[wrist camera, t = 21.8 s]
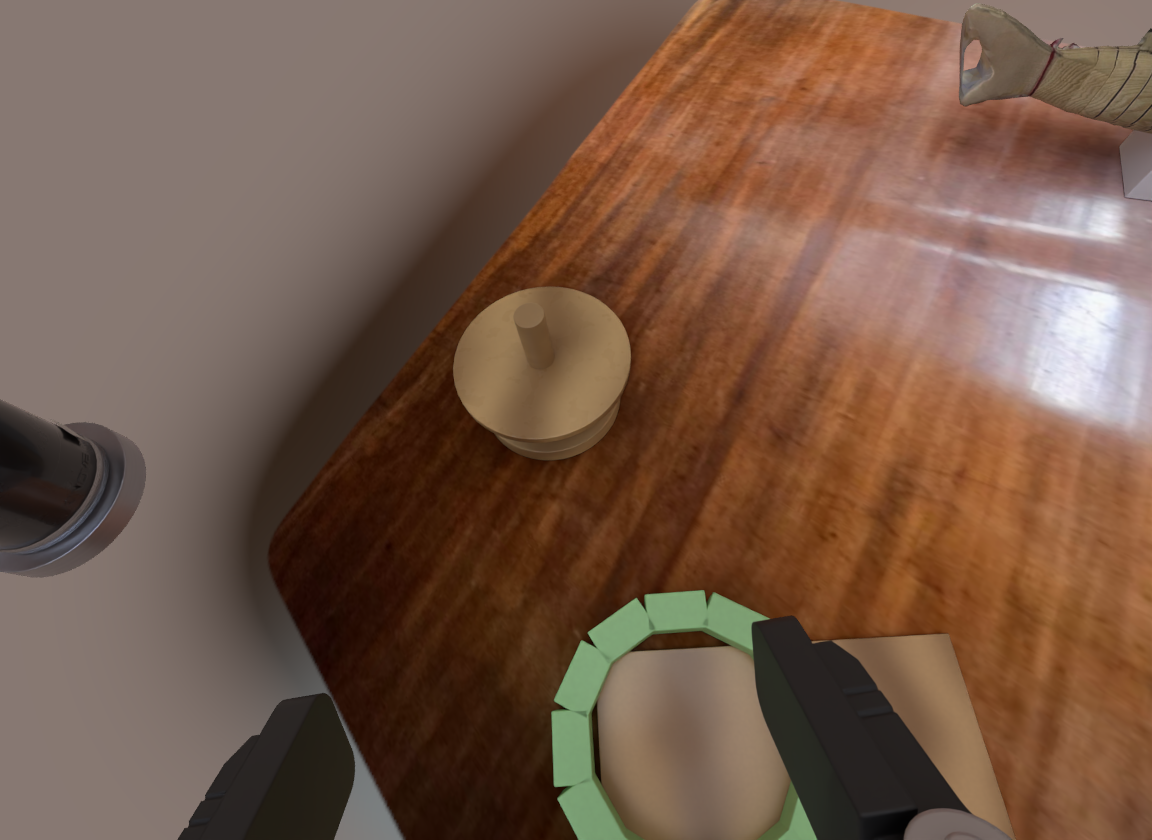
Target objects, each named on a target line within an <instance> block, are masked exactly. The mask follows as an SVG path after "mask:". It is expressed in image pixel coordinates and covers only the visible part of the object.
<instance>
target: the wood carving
mask: <svg viewBox="0 0 1152 840" xmlns="http://www.w3.org/2000/svg"><path fill="white" fill-rule="evenodd" d="M973 40H980V44H981V46H982V53H981V57H980V60H979V62H978V64H977V67H976V68H973V69H969V70H966V71H963V67H964V52H965V49H966V47H967V46H968V45H969V44H970V43H971V42H972V41H973ZM1062 40H1063V38H1061V39H1058V40H1056V41H1054V42H1053V43H1052V44H1050V45H1048V44H1046V43H1045V42H1043V41H1042V40H1041V39H1039V38H1038V37H1037V36H1036V35H1034V33H1033V32H1031V31H1030V30H1029V29H1028V28H1027V27H1026V26H1024V25H1023V24H1022V23H1020V22H1019V21H1018V20H1016V19H1015V18H1013V17H1012V16H1010V15H1008V14H1007V13H1006V12H1004V11H1003V10H1001V9H996V8H994V7H992V6H988V5H983V4H979V3H978V4H974V5H973V6H972V7H970V8H969V10H968V11H967V12H966V13H965V17H964V20H963V23H962V30H961V40H960V87H959V100H960V104H961V105H963V106H968V105H971V104H976V103H980V102H984V101H986V100H1000V99H1009V98H1017V97H1028V96H1030V97H1033V98H1035V99H1039V100H1041V101H1043V102H1045V103H1048V104H1050V105H1053V106H1055V107H1057V108H1060V109H1062V110H1064V111H1066V112H1070V113H1075V114H1079V115H1081V116H1084V117H1087V118H1091V119H1094V120H1099V121H1104V122H1108V123H1110V124H1113V125H1117V126H1122V127H1124V128H1128V129H1133V132H1132V133H1131V134H1130V135H1129V136H1128V137H1127V138H1126V139H1125V141H1124V142H1123V143H1122V144H1121V145H1120V146H1119V148H1120V157H1121V166H1122V175H1123V184H1124V194H1125V197H1127V198H1134V199H1142V200H1150V201H1152V29H1150V30H1149V31H1148V32H1147V33H1146V35H1145V36H1144V37H1143V38H1142V39H1141V41H1140V42H1139V43H1138V45H1134V46H1117V47H1111V46H1100V47H1085V48H1080V47H1079V46H1077V45H1076V44H1074V43H1072V44H1070V45H1069V46H1065V47H1063V48H1059V47H1058V45H1059V44H1060V43H1061V41H1062Z"/></svg>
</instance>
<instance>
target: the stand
mask: <svg viewBox="0 0 1152 840" xmlns="http://www.w3.org/2000/svg"><path fill="white" fill-rule="evenodd" d="M630 368H631V349H630V343H629V339H628V336H627V333H626V330H625V329H624V327H623V325H622V323H621V321H620V320H619V319H618V317H617V316H616V315H615V314H614V313H613V312H612V311H611V310H610V309H609V308H608V307H607V306H606V305H605V304H603V303H602V302H601V301H599V300H598V299H596V298H594V297H592V296H590V295H588V294H585V293H583V292H580V291H577V290H573V289H568V288H562V287H538V288H531V289H526V290H522V291H519V292H516V293H513V294H510V295H508V296H506V297H504V298H502V299H500V300H498V301H496V302H495V303H493V304H492V305H490V306H489V307H487V308H486V309H485V310H484V311H482V312H481V313H480V314H479V315H478V316H477V317H476V318H475V319H474V320H473V321H472V323H471V324H470V325H469V326H468V328H467V329H466V331H465V332H464V334H463V336H462V337H461V340H460V342H459V344H458V346H457V350H456V353H455V358H454V365H453V375H454V382H455V387H456V390H457V393H458V395H459V397H460V399H461V401H462V403H463V405H464V407H465V408H466V409H467V411H468V412H469V414H470V415H471V416H472V417H473V418H474V419H475V420H476V421H477V422H478V423H479V424H480V425H482V426H483V427H484V428H486V429H487V430H489V431H491V432H492V433H494V434H495V435H496V437H497V438H498V439H499V440H500V441H501V442H502V443H503V444H504V445H505V446H506V447H508V448H509V449H510V450H512V451H514V452H516V453H517V454H519V455H522V456H525V457H528V458H532V459H536V460H560V459H565V458H569V457H573V456H575V455H578V454H580V453H582V452H584V451H586V450H588V449H589V448H591V447H592V446H594V445H595V444H596V443H598V442H599V441H600V440H601V439H602V438H603V437H604V436H605V435H606V433H607V432H608V431H609V430H610V428H611V426H612V425H613V423H614V421H615V419H616V416H617V414H618V410H619V406H620V397H621V395H622V394H623V392H624V389H625V387H626V385H627V382H628V378H629V375H630Z"/></svg>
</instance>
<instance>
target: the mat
mask: <svg viewBox="0 0 1152 840" xmlns="http://www.w3.org/2000/svg"><path fill="white" fill-rule="evenodd" d="M824 641H830V640H824ZM824 641H811V642H812V643H818V642H824ZM832 641H833V642H834V643H836V644H837V645H839V646H840V647H841V648H843V649H844V650H846V651H847V652H848V653H850V654H851V655H853V656H854V657H855V658H857V659H858V660H859V661H860V663H861V664H862V665H863V667H864V668H865V670H866V671H867V672H868V674H869V675H870V676H871V678H872V679H873V681H874V682H875V683H876V685H877V688H878V690H881V692H882V693H883V694H884V696H885V697H886V698H887V700H888V701H889V703H890V704H891V705H892V707H893V711H894V712H895V713H896V712H897V714H898V715H899V716H900V718H901V719H902V721H903V722H904V723H905V725H906V726H907V727H908V729H909V730H910V732H911V733H912V734H913V736H914V737H915V738H916V740H917V741H918V743H919V744H920V745H921V747H922V748H923V750H924V751H925V752H926V754H927V755H928V756H929V758H930V759H931V761H932V762H933V763H934V765H935V766H936V767H937V769H938V770H939V772H940V773H941V774H942V776H943V777H944V778H945V780H946V781H947V783H948V784H949V785H950V787H951V788H952V790H953V791H954V792H955V794H956V795H957V796H958V798H959V799H960V800H961V802H962V803H963V804H964V805H965V806H966V808H967V809H968V810H969V811H970V812H971V813H972V814H973V815H975V816H977V817H979V818H982V819H984V820H986V821H987V822H989V823H991V824H992V825H994V826H996V827H997V828H999V829H1000V830H1001V831H1003V832H1004V833H1006V834H1007V835H1008V836H1009V837H1010V838H1011V839H1013V840H1016V838H1015V835H1014V832H1013V829H1012V826H1011V823H1010V820H1009V817H1008V814H1007V811H1006V808H1005V804H1004V801H1003V798H1002V795H1001V792H1000V789H999V786H998V783H997V780H996V777H995V774H994V771H993V768H992V765H991V762H990V759H989V756H988V753H987V750H986V746H985V743H984V740H983V737H982V734H981V731H980V728H979V725H978V722H977V719H976V716H975V713H974V710H973V707H972V704H971V701H970V698H969V695H968V691H967V688H966V685H965V682H964V679H963V676H962V673H961V670H960V667H959V664H958V661H957V658H956V655H955V652H954V649H953V646H952V643H951V640H950V637H949V634H948V633H947V634H929V635H912V636H894V637H877V638H859V639H842V640H832ZM597 719H598V736H599V754H600V772H601V784H602V786H603V788H604V790H605V792H606V793H607V795H608V797H609V799H610V800H611V802H612V804H613V806H614V808H615V809H616V811H617V813H618V815H619V816H620V818H621V820H622V822H623V823H624V825H625V827H626V828H627V829H628V830H630V831H632V832H633V833H635V834H636V835H638V836H640V837H641V838H643V839H644V840H757V839H758V838H759V837H761V836H762V835H763V834H764V833H765V832H767V831H768V830H769V829H770V828H771V827H772V826H774V825H775V824H776V823H777V822H778V821H779V820H780V817H781V813H782V810H783V806H784V803H785V800H786V796H787V793H788V789H789V786H790V782H791V779H790V777H789V774H788V772H787V770H786V768H785V765H784V763H783V761H782V759H781V756H780V754H779V752H778V749H777V747H776V745H775V743H774V740H773V738H772V736H771V734H770V731H769V729H768V727H767V724H766V722H765V719H764V717H763V714H762V711H761V707H760V704H759V700H758V695H757V690H756V682H755V670H754V660H753V659H752V658H751V656H750V655H749V654H747V653H745V652H743V651H741V650H739V649H737V648H735V647H733V646H718V647H701V648H683V649H666V650H648V651H631V652H628V653H627V654H625V655H624V656H623V657H621V658H620V659H618V660H617V661H616V662H614V663H613V665H612V667H611V669H610V672H609V674H608V676H607V679H606V681H605V683H604V685H603V688H602V690H601V692H600V695H599V697H598V699H597Z"/></svg>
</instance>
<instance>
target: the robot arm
mask: <svg viewBox="0 0 1152 840" xmlns="http://www.w3.org/2000/svg"><path fill="white" fill-rule="evenodd" d="M52 421H53V420H52ZM53 422H55V423H56V424H58V425H59V426H60V427H59V426H57V425H55V424H53V423H50V422H48V421H46V420H44V419H42V418H40V417H38V416H36V415H33V414H31V413H29V412H27V411H25V410H23V409H20V408H18V407H16V406H14V405H12V404H9V403H7V402H5V401H3V400H0V552H4V553H9V554H29V553H34V552H37V551H40V550H43V549H45V548H48V547H50V546H52V545H54V544H56V543H57V542H59V541H61V540H62V539H64V538H65V537H67V536H68V535H69V534H71V533H72V532H73V531H74V530H75V529H77V528H78V527H79V526H80V525H81V524H82V523H83V522H84V521H85V520H86V518H87V517H88V516H89V515H90V514H91V512H92V511H93V510H94V508H95V507H96V505H97V503H98V502H99V500H100V498H101V496H102V494H103V492H104V489H105V487H106V483H107V479H108V472H109V465H108V459H107V456H106V453H105V451H104V450H103V448H102V447H101V446H100V445H99V444H98V443H97V442H95V441H94V440H91V439H89V438H87V437H85V436H83V435H80V434H78V433H75V432H74V431H72V430H71V429H69V428H68V427H67V426H65V425H62V424H60V423H58V422H56V421H53ZM751 631H752V644H753V657H754V670H755V682H756V690H757V695H758V700H759V704H760V707H761V711H762V714H763V717H764V719H765V722H766V724H767V727H768V729H769V731H770V734H771V736H772V738H773V740H774V743H775V745H776V747H777V749H778V752H779V754H780V756H781V759H782V761H783V763H784V765H785V768H786V770H787V772H788V774H789V777H790V779H791V781H792V784H793V786H794V788H795V790H796V793H797V795H798V797H799V799H800V802H801V804H802V806H803V809H804V811H805V813H806V815H807V818H808V820H809V822H810V824H811V827H812V829H813V831H814V833H815V836H816V838H817V840H1013V839H1011V838H1010V837H1009V836H1008V835H1007V834H1006V833H1004V832H1003V831H1001V830H1000V829H999V828H997V827H996V826H994V825H992V824H991V823H989V822H987V821H986V820H984V819H982V818H979V817H977V816H975V815H973V814H972V813H971V812H970V811H969V810H968V809H967V808H966V806H965V805H964V804H963V803H962V802H961V800H960V799H959V798H958V796H957V795H956V794H955V792H954V791H953V790H952V788H951V787H950V785H949V784H948V783H947V781H946V780H945V778H944V777H943V776H942V774H941V773H940V772H939V770H938V769H937V767H936V766H935V765H934V763H933V762H932V761H931V759H930V758H929V756H928V755H927V754H926V752H925V751H924V750H923V748H922V747H921V745H920V744H919V743H918V741H917V740H916V738H915V737H914V736H913V734H912V733H911V732H910V730H909V729H908V727H907V726H906V725H905V723H904V722H903V721H902V719H901V718H900V716H899V715H898V714H897V712H896V713H895V712H894V711H893V707H892V705H891V704H890V703H889V701H888V700H887V698H886V697H885V696H884V694H883V693H882V692H881V690H878V688H877V685H876V683H875V682H874V681H873V679H872V678H871V676H870V675H869V674H868V672H867V671H866V670H865V668H864V667H863V665H862V664H861V663H860V661H859V660H858V659H857V658H855V657H854V656H853V655H851V654H850V653H848V652H847V651H846V650H844V649H843V648H841V647H840V646H839V645H837V644H836V643H834V642H833V641H832V640H830V641H824V642H818V643H812V642H811V640H810V638H809V637H808V635H807V634H806V632H805V631H804V629H803V628H802V626H801V624H800V623H799V621H798V620H797V619H796V618H795V617H794V616H792V615H791V616H785V617H779V618H774V619H768V620H762V621H756V622H753V623H752V626H751ZM354 775H355V761H354V755H353V751H352V748H351V746H350V744H349V741H348V739H347V736H346V733H345V731H344V728H343V726H342V724H341V721H340V719H339V716H338V714H337V711H336V709H335V706H334V704H333V701H332V699H331V698H330V696H329V695H327V694H325V693H322V694H315V695H309V696H303V697H298V698H292V699H286V700H283V701H281V702H280V703H279V704H278V705H277V706H276V708H275V709H274V711H273V713H272V714H271V716H270V718H269V720H268V721H267V723H266V725H265V726H264V728H263V730H262V732H261V733H260V735H255V736H252V737H250V738H249V739H248V740H247V741H246V743H245V744H244V745H243V746H242V747H241V748H240V749H239V750H238V751H237V752H236V753H235V754H234V755H233V756H232V757H231V758H230V759H229V760H228V761H227V762H226V763H225V764H224V766H223V767H222V769H221V770H220V772H219V774H218V775H217V777H216V778H215V780H214V782H213V783H212V785H211V787H210V788H209V790H208V791H207V793H206V795H205V800H204V801H201V803H200V804H199V806H198V807H197V809H196V811H195V812H194V814H193V816H192V817H191V819H190V821H189V826H188V828H184V830H183V832H182V833H181V835H180V837H179V838H178V840H334V837H335V835H336V832H337V829H338V827H339V824H340V821H341V818H342V816H343V813H344V810H345V807H346V804H347V802H348V799H349V796H350V793H351V790H352V787H353V781H354Z"/></svg>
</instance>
